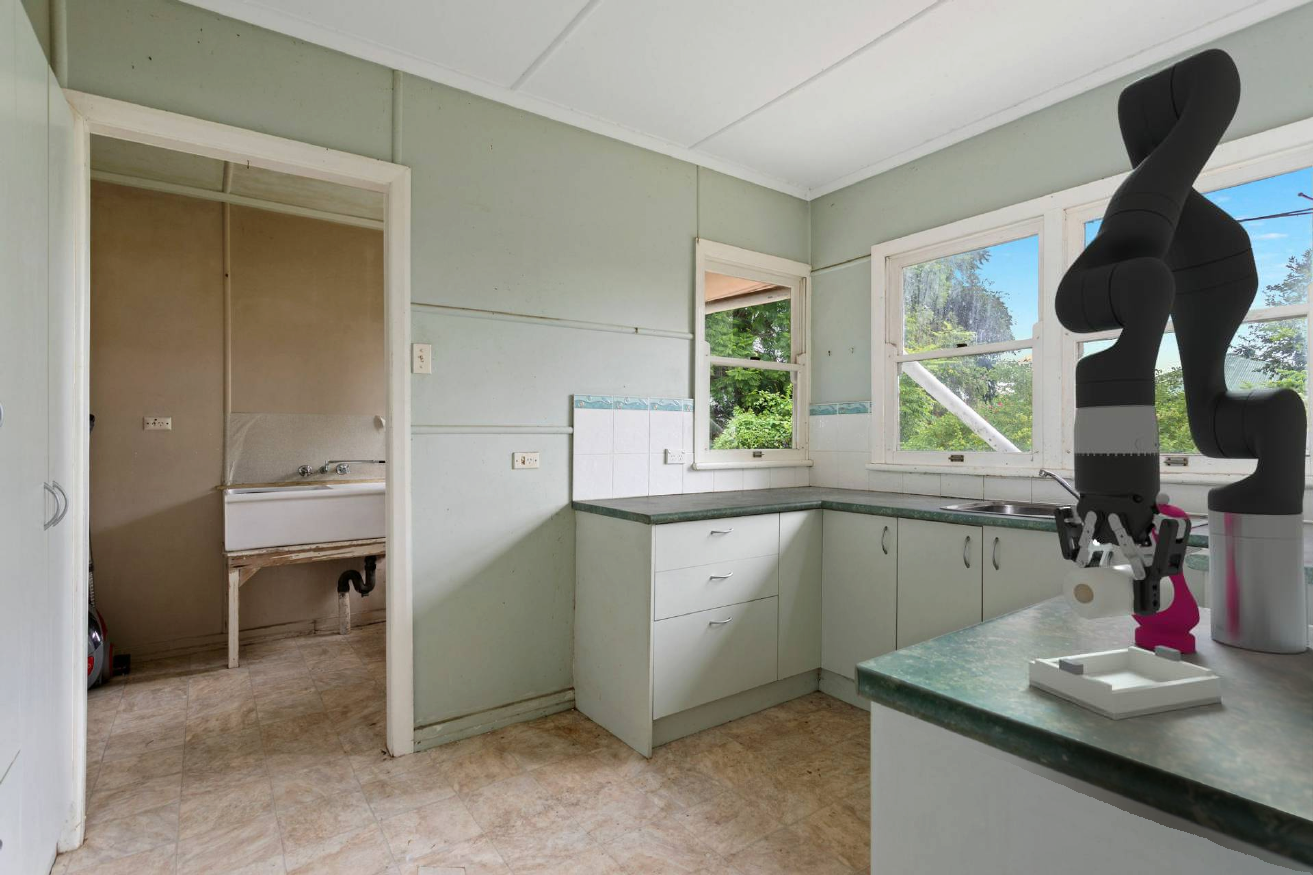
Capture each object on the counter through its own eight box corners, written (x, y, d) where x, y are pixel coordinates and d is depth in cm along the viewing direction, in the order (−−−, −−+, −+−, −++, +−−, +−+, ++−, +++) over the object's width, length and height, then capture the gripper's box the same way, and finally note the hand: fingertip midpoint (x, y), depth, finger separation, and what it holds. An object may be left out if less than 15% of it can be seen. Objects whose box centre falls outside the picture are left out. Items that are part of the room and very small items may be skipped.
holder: (1127, 669, 77) (1126, 635, 77) (1221, 701, 67) (1220, 662, 67) (1028, 684, 73) (1027, 648, 73) (1113, 720, 63) (1112, 678, 63)
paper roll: (1129, 606, 74) (1127, 560, 74) (1177, 616, 69) (1175, 567, 69) (1061, 613, 71) (1060, 565, 71) (1106, 624, 66) (1104, 572, 66)
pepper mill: (1214, 656, 81) (1210, 494, 81) (1148, 653, 83) (1144, 494, 83) (1180, 639, 88) (1176, 490, 88) (1119, 636, 90) (1116, 490, 90)
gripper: (1213, 449, 64) (1217, 623, 64) (1082, 449, 78) (1085, 592, 78) (1156, 450, 62) (1159, 629, 62) (1032, 450, 76) (1034, 596, 76)
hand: (1118, 607), depth 70 cm, fingers closed on paper roll, 5 cm apart
